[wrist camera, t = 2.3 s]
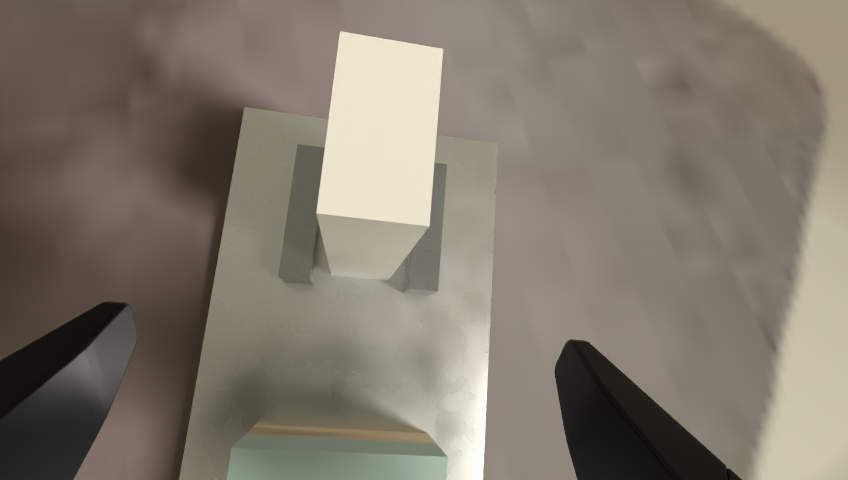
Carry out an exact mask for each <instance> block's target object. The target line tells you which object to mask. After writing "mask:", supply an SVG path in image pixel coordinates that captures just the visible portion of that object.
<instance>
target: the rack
mask: <svg viewBox="0 0 848 480" xmlns="http://www.w3.org/2000/svg"><path fill="white" fill-rule="evenodd" d="M328 120H329V119H324V118H317V117H311V116H304V115H297V114H290V113H283V112H276V111H269V110H262V109H255V108H248V107H244V113H243V118H242V124H241V130H240V135H239V141H238V147H237V152H236V158H235V164H234V170H233V175H232V181H231V187H230V192H229V198H228V204H227V210H226V215H225V221H224V227H223V232H222V238H221V244H220V249H219V255H218V261H217V267H216V272H215V278H214V284H213V289H212V295H211V301H210V307H209V312H208V318H207V324H206V329H205V335H204V341H203V347H202V352H201V358H200V364H199V369H198V375H197V381H196V386H195V392H194V398H193V404H192V409H191V415H190V421H189V426H188V432H187V438H186V444H185V449H184V455H183V461H182V466H181V472H180V478H179V480H227V475H228V468H229V462H230V455H231V449H232V447H233V446H234V445H235V444H236V443H237V442H238V441H239V440H240V439H241V438H242V437H243V436H244V435H245V434H246V433H247V432H248V431H249V430H250V429H251V428H252V427H253V426H254V425H255V424H258V425H278V426H297V427H317V428H337V429H357V430H377V431H397V432H417V433H428V434H429V435H430V436H431V438H432V439H433V440H434V441H435V442H436V444H437V445H438V446H439V447H440V448H441V449H442V451H443V452H444V453H445V454H446V455H447V457H448V461H447V477H446V480H483V465H484V443H485V421H486V399H487V377H488V355H489V333H490V311H491V289H492V267H493V245H494V223H495V201H496V179H497V156H498V143H491V142H484V141H477V140H470V139H463V138H456V137H449V136H442V135H436V148H435V161H434V174H433V187H432V200H431V213H430V226H429V228H428V229H427V230H426V232H425V233H424V234H423V236H422V237H421V238H420V239H419V241H418V242H417V243H416V245H415V246H414V247H413V249H412V250H411V251H410V253H409V254H408V255H407V257H406V258H405V259H404V261H403V262H402V263H401V264H400V266H399V267H398V268H397V270H396V271H395V272H394V274H393V275H392V276H391V278H390V279H389V280H388V281H387V280H377V279H367V278H356V277H346V276H336V275H331V272H330V268H329V264H328V260H327V256H326V252H325V247H324V243H323V239H322V235H321V231H320V227H319V222H318V218H317V214H316V212H317V204H318V196H319V189H320V181H321V174H322V166H323V158H324V151H325V143H326V136H327V128H328Z"/></svg>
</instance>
